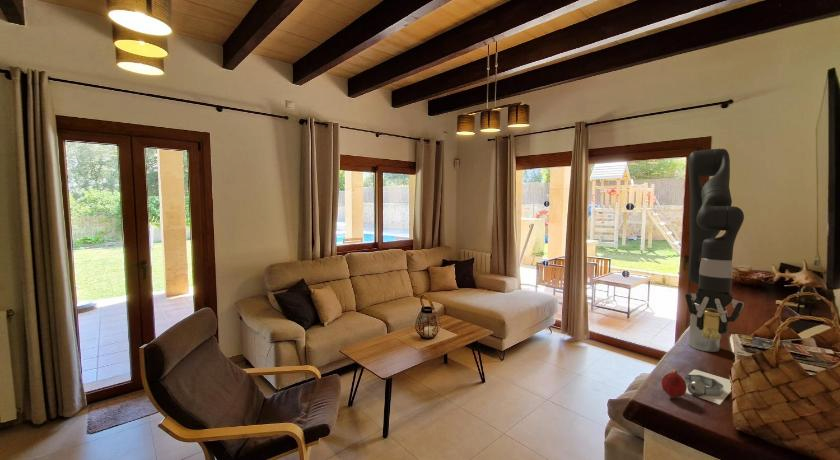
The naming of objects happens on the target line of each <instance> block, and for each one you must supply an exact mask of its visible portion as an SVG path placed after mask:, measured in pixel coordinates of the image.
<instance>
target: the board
mask: <svg viewBox="0 0 840 460" xmlns="http://www.w3.org/2000/svg"><path fill="white" fill-rule="evenodd" d="M688 374H690V375H702V376H705V377H708V378H711V379H715V380H716V381H718V382H719V383H721V384H722V385H723V393H722V394H721V395H720V396H706V395H702V396H699V397H697V396H694V395H692V394H691V393H690V392H689V391H688V388H687V390H686V392H685V393H684V394H683V396H685V397H686V395H685V394H688V395H691V396H694V397H697V398H700V399H702V400H706V401H708V402H711V403H714V404H717V405H721V404H722V403H723V402H724V400H725V399H726V398H727V396H728V395H729V394H730V393H731V392H732V391H733V389H732V390H731V383H730V380H731V379H729V378H725V377H722V376H718V375H714V374H711V373H708V372H704V371H701V370H699V369H696V368H695V369H693V370H692V371H690V372H689V373H688ZM682 378H683V379H684V377H682ZM704 385H705V384H704ZM705 386H706V387H711V386H708V385H705ZM691 399H693V400H696V401H699V402H701V403H703V401H700V400H698V399H695V398H693V397H691ZM708 405H710V406H713V407H716V408H717V406H716V405H712V404H710V403H708Z"/></svg>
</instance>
